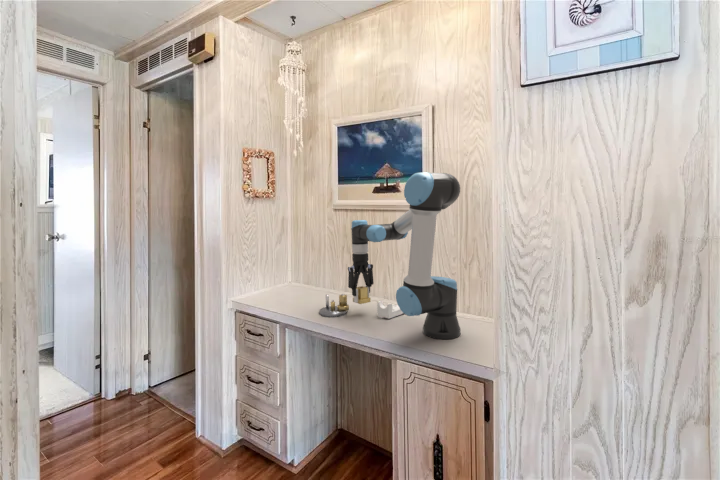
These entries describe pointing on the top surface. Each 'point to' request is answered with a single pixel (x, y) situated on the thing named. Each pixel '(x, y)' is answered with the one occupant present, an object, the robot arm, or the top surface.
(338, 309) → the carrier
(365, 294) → the brass square sleeve
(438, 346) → the top surface
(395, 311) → the bracket
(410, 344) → the top surface
